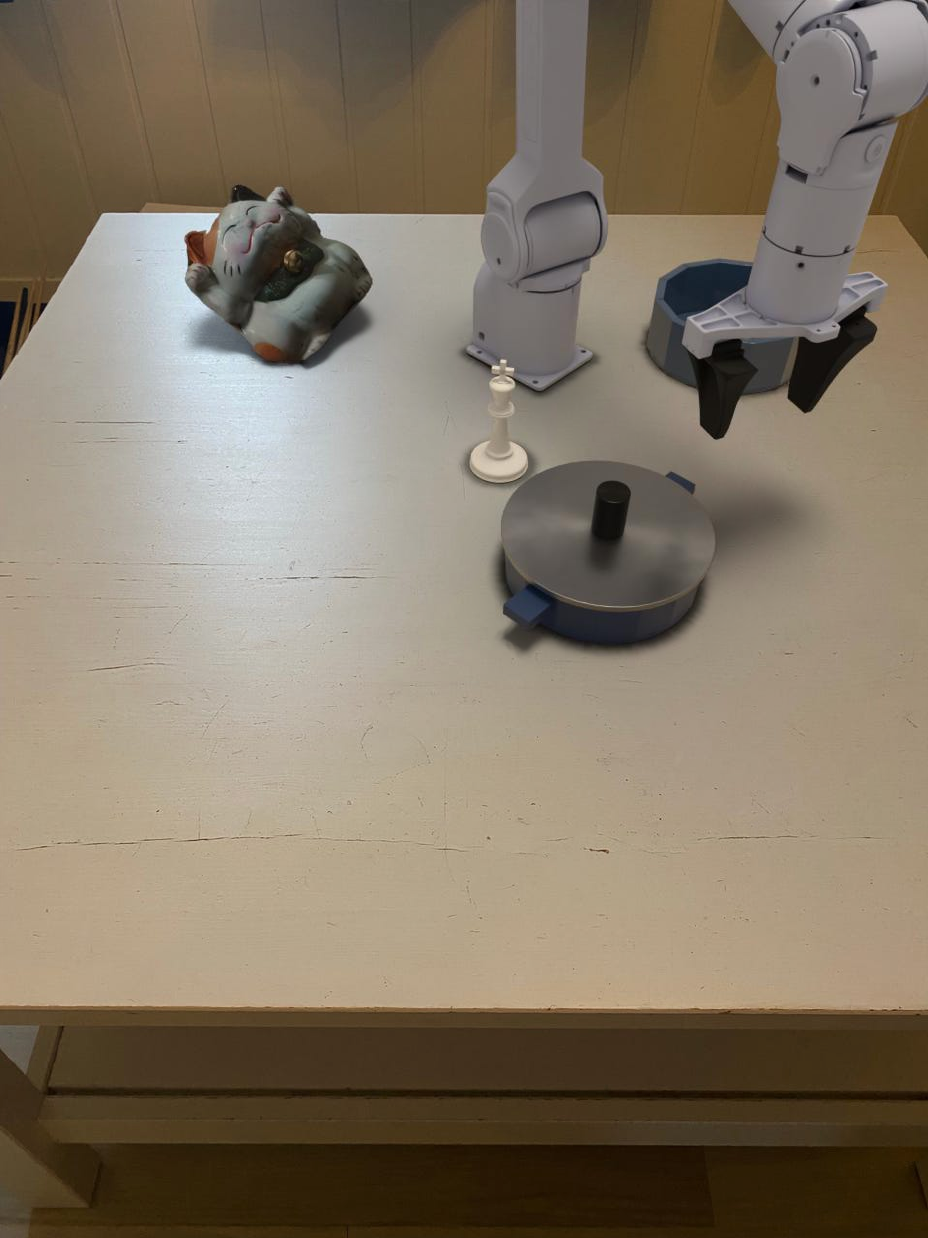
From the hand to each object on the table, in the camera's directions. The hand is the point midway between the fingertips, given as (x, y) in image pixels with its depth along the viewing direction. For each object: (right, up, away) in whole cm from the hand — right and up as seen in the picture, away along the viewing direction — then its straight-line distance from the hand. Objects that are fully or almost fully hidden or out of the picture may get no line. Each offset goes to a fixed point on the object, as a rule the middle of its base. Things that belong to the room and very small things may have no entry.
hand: (756, 417), depth 68 cm
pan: (-11, -11, +4) cm, 16 cm away
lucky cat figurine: (-38, +14, +26) cm, 48 cm away
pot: (+4, +12, +24) cm, 27 cm away
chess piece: (-18, -1, +12) cm, 22 cm away
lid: (-11, -8, +1) cm, 13 cm away
